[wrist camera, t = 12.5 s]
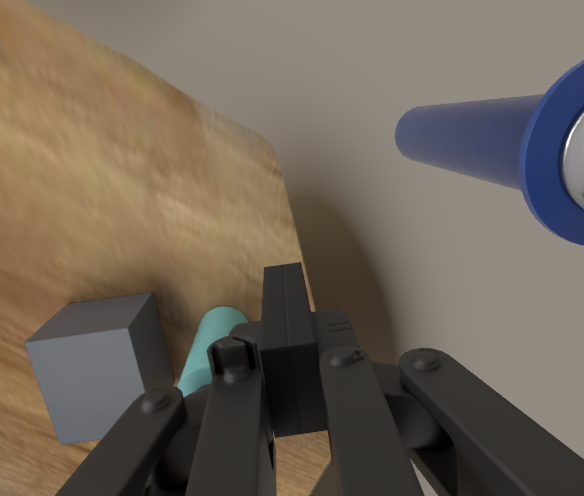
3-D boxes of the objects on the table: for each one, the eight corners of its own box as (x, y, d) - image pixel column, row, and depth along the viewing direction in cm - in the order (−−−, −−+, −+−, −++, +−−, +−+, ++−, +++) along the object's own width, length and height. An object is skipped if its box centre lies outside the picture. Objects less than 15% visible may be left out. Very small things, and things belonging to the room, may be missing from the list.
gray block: (153, 291, 50) (127, 327, 41) (175, 381, 53) (156, 431, 44) (66, 303, 49) (23, 342, 41) (94, 392, 53) (60, 445, 44)
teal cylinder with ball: (237, 296, 53) (315, 362, 36) (245, 339, 54) (323, 421, 38) (134, 329, 48) (171, 422, 31) (147, 375, 49) (188, 487, 33)
